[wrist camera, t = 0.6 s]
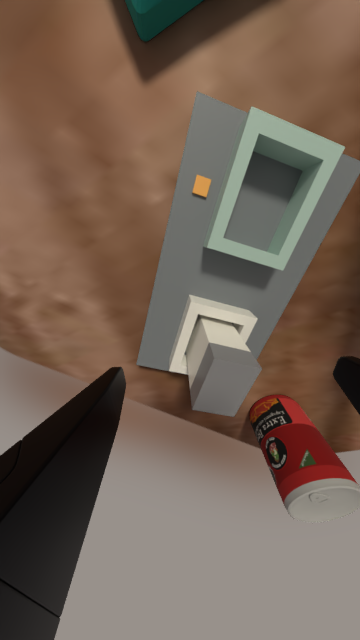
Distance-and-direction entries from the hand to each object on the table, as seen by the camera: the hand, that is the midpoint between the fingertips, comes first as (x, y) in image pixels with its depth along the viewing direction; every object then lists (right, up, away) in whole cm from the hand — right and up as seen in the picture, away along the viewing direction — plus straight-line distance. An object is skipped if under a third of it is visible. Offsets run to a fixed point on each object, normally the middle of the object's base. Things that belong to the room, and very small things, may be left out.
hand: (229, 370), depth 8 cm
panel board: (+3, +6, +12) cm, 14 cm away
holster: (+1, 0, +13) cm, 13 cm away
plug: (+1, 0, +13) cm, 13 cm away
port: (+4, +12, +8) cm, 15 cm away
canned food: (+12, -12, +21) cm, 27 cm away
